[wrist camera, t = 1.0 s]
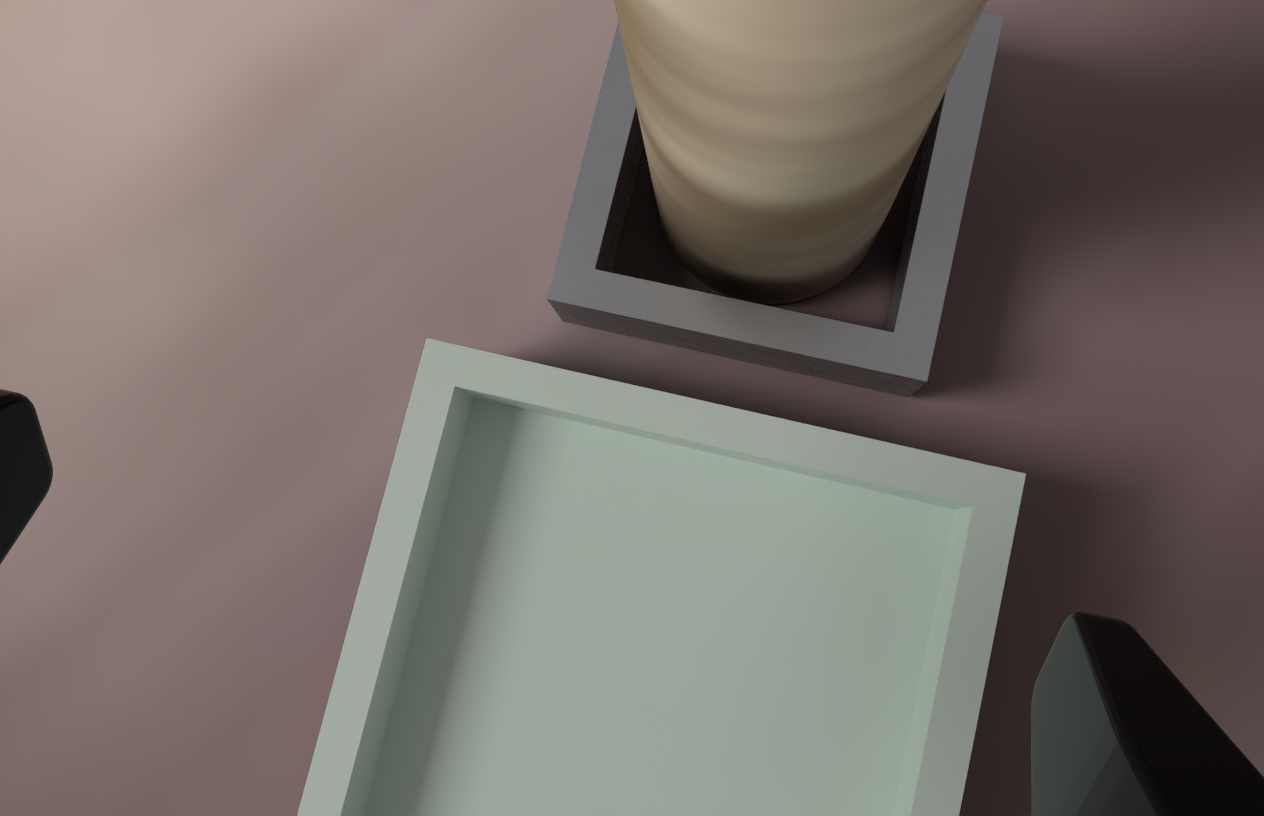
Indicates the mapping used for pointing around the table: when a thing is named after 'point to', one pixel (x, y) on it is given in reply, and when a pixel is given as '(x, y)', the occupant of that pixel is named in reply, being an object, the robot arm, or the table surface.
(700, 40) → the dowel
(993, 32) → the dowel holder
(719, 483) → the tray
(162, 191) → the table surface
